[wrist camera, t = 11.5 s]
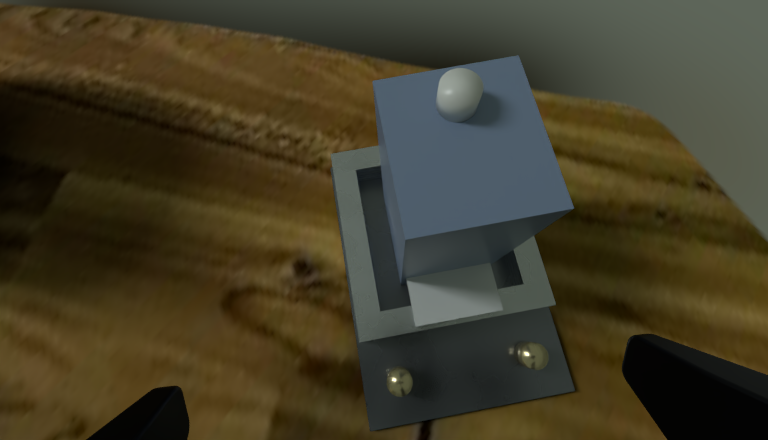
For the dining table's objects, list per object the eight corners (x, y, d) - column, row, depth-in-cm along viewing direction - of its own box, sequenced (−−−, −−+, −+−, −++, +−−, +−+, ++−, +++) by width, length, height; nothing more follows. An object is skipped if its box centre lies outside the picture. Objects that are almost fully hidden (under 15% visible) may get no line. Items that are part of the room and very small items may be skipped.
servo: (495, 311, 18) (624, 288, 8) (409, 327, 18) (425, 326, 8) (451, 150, 21) (505, -23, 11) (377, 163, 21) (358, 2, 11)
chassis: (572, 389, 17) (592, 397, 15) (370, 429, 17) (367, 441, 15) (494, 140, 21) (503, 123, 20) (331, 170, 21) (325, 155, 19)
